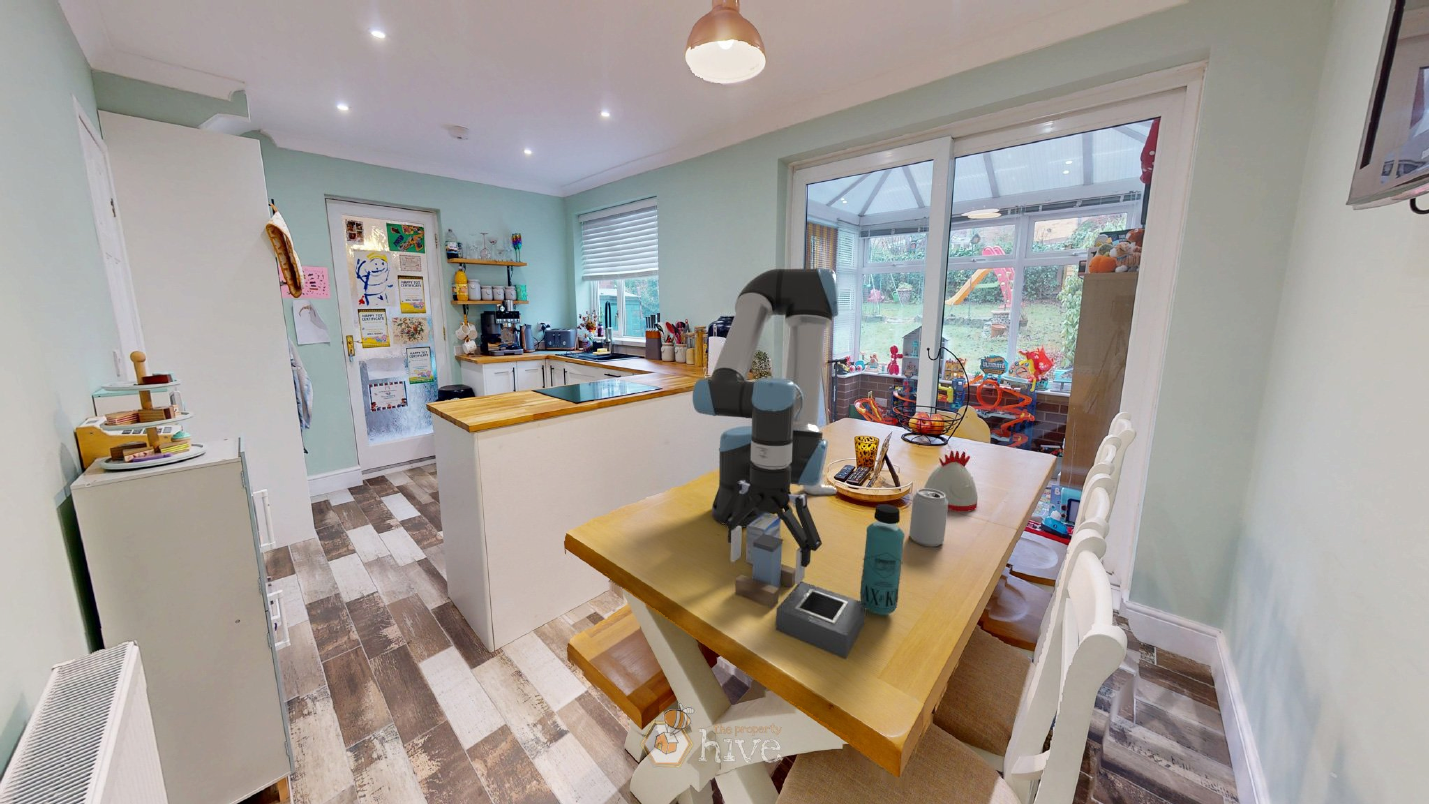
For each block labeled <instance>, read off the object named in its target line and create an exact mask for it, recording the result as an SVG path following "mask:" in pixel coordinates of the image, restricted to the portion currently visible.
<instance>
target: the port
mask: <svg viewBox="0 0 1429 804" xmlns="http://www.w3.org/2000/svg"><path fill="white" fill-rule="evenodd" d="M866 610H867V609H866V603H864V602H861V600H857V599H854V598H852V597H849V596H846V595H843V594H840V593H837V592H834V591H830V590H828V589H826V588H822V587H819V586H816V585H814V584H810V583H808V582H805V581H803V580H802V581H801V582H800V583H799V584H796V586H795V587H794V588H793V589H792V591H790V593H789V594H788V595H787V596H786V597H785V598H784V599H783V601H782V602H781V603H780V604H779V605H778V606H777V607H776V614H775V615H776V618H775V619H776V620H775V631H778V632H780V633H783V634H785V635H787V636H790V637H792V638H795V639H797V640H800V641H802V642H804V643H806V644H808V645H811V646H814V647H816V648H819V649H821V650H823V651H826V652H827V653H831V654H833V655H836V656H838V657H839V658H843V659H846V658H847V656H848V655H849V653H850V652H851V649H852V647H853V646H854V644H855V642H856V640H857V638H858V637H859V635H860V633H861V631H862V630H863V628H864V627H865V622H866V621H865V620H866V612H867V611H866Z"/></svg>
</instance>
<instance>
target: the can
mask: <svg viewBox="0 0 1429 804" xmlns="http://www.w3.org/2000/svg"><path fill="white" fill-rule="evenodd" d="M945 497H946V495H945V494H944V493H943V492H941V491H938V490H935V489H929V488H918V489H917V490H916V493H915V494H914V495H913V496H912V506H911V514H910V523H909V525H910V526H909V537H910V538H911V539H912V540H913V542H915V543H917V544H918V545H922V546H925V547H938V546H939V545H941V544H943V543H944V541H945V535H946V527H947V526H946V525H947V518H948V511H949V510H948V500H947V499H946V498H945Z"/></svg>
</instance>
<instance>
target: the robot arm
mask: <svg viewBox="0 0 1429 804" xmlns="http://www.w3.org/2000/svg"><path fill="white" fill-rule="evenodd" d="M838 296H839V293H838V284H837V276H836V272H835V271H834V270H833V269H831V268H819V267H815V268H773V269H768V270H766V271H764V272H762V273H760V274H759V275H757V276H756V277H754V278H753V279H752V280H750V281H749V282H748V283H747V284H746V285H745V286H744V287H743V289H742V290H741V292H739V293H738V296H737V299H736V301H735V304H734V311H735V315H734V317H733V320H732V322H731V325H730V327H729V330H728V332H727V335H726V338H725V340H724V343H723V345H722V348H721V350H720V353H719V355H718V358H717V360H716V363H715V366H714V369H713V372H712V374H711V376H710V378H708V377H706V378H699V379H698V380H696V382H694V386H693V388H692V403H693V404H692V405H693V409H694V410H695V412H696V413H698V414H703V415H708V416H713V417H716V416H719V417H733V418H743V419H751V425H744V426H738V427H734V428H729V429H727V430H725V431H723V433H721V435H720V438H719V439H720V441H719V448H718V452H719V455H718V456H719V459H718V460H719V461H718V463H719V467H718V468H719V469H718V471H719V472H718V473H719V475H718V479H719V481H718V482H719V483H718V489H717V492H716V494H715V496H714V499H713V503H712V506H711V516H712V518H713V519H714V520H715V521H716V522H718V523H719V524H722V525H725V526H726V528H727V542H728V544H730V562H731V563H735V562H736V561H737V560H739V559H740V558H741V555H742V528H747V525H749V524H750V523H751V522H753V521H754V520H755V519H757V518H758V517H759V516H760V515H762V514H763V513H767V514H772V515H775V514H776V516H778V517H779V518H780V519H781V520H782V522H783V523H784V524H785V526H786V528H787V529H788V531H789V532H790V534H791V536H792V538H793V539H794V541H795V542H796V543H797V545H798V548H797V549H796V555H795V557H796V558H795V569H796V570H795V584H796V585H798V584H799V583H800V582H801V581H802V582H803V580H804V579H805V577H806V576H805V575H806V573H805V572H806V568H807V567H808V566H809V565H810V564H811V557H812V555H811V553H812V551H813V552H816V551H817V550H818V549H819V548H820V547H821V546H822V544H823V542H822V540H821V537H820V535H819V532H818V529H817V527H816V524H815V521H814V520H813V517H812V514H811V511H810V510H809V507H808V497H807V494H806V493H801V494H793V493H792V492H791V485H797V486H798V487H800V486H803V485H804V486H815V485H816V484H818V482H819V481H820V478H821V475H822V472H823V473H824V468H825V462H826V459H827V454H828V446H829V442H828V440H827V439H826V438H823V435H824V434H823V433H824V432H823V431H822V430H821V428H820V427H819V425H818V418H819V417H818V416H819V406H820V395H821V394H820V393H821V381H822V379H821V378H822V370H823V369H822V367H823V356H824V342H825V333H826V332H825V331H826V329H827V328H829V326H831V325H832V324H833V323H832V322H833V321H832V320H833V318H835V317H838V316H839V297H838ZM772 316H785V317H784V322H785V323H786V325H787V326H788V327H789V340H788V351H787V352H788V353H787V362H786V374H785V378H781V377H780V378H778V377H775V378H774V377H769V378H768V377H765V378H759V379H757V380H755V381H747V379H748V378H749V377H748V376H749V373H750V370H751V367H752V363H753V360H754V359H755V355H756V352H757V350H758V346H759V343H760V339H761V336H762V334H763V330H764V328H765V324H767V323H768V322H769V321H770V319H772ZM790 502H791V503H792V507H794V508H795V512H796V514H797V516H796V515H795V514H794V513H793V508H792V507H791V505H790V504H789V503H790ZM797 517H798V519H797Z"/></svg>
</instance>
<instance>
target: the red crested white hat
mask: <svg viewBox="0 0 1429 804" xmlns="http://www.w3.org/2000/svg"><path fill="white" fill-rule="evenodd" d="M938 459H939V463H940V465H938V466H937V467H936V468H934V469H933V471H932V472H931V473H930V475H929V476H928V478H927V481H926V483H925V484H924V488H929V489H935V490H938V491H941V492H943V493H944V494H945V495H946V497H945V498H946V499H947V500H948V510H947V511H949V512H950V511H951V512H959V511H964V512H971V511H974V510H975V508H976V509H977V507H978V502H979V501H978V492H977V488H976V483H975V481H974V477H973V476H972V474H971V472H970V471H969V470H968V469H967V468H966V465H967V464H968V462H969V460H970V459H971V456H970V455H967V456H966V452H965V451H962V453H961V455H960V451H958V450H956V451H955V453H954V451H953V450H950V453H949V455H947V454H946V453H945V454H944V459H945V460H944V461H943V459H942V458H941V457H940V458H938Z"/></svg>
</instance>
